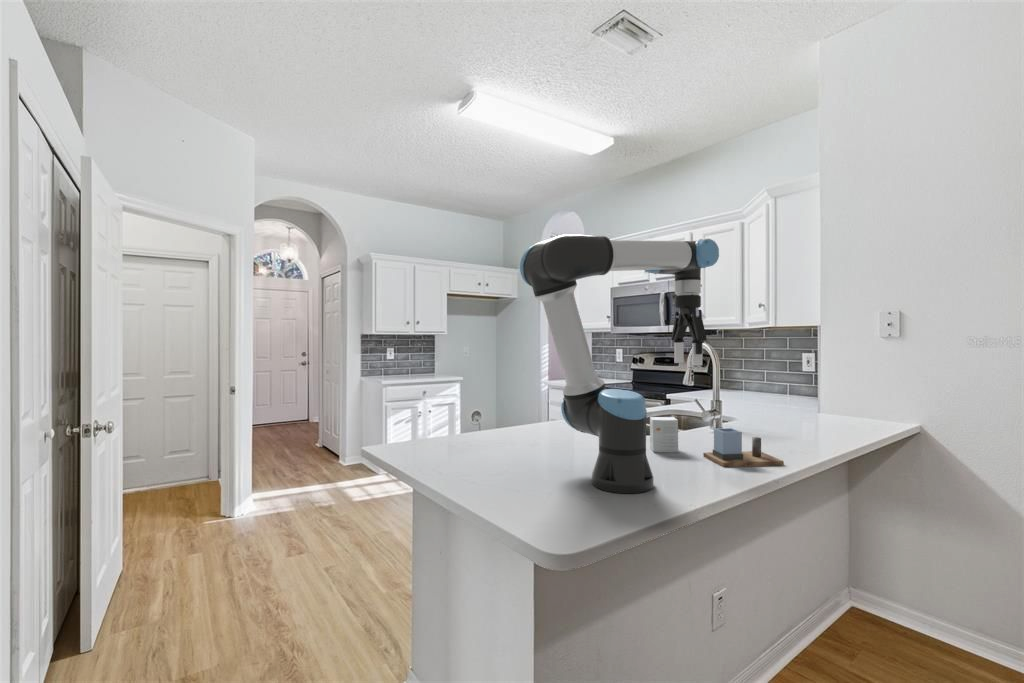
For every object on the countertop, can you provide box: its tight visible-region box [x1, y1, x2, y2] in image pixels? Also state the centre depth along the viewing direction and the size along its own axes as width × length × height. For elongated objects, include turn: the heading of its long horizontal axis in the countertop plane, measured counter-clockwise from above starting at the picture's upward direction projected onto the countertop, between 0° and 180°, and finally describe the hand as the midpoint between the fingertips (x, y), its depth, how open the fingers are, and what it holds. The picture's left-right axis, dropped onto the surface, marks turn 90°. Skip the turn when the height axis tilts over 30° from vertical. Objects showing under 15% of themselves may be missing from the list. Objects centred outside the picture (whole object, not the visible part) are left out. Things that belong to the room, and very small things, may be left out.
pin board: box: [702, 436, 785, 468], centre depth 146 cm, size 18×12×7 cm, turn 94°
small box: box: [649, 416, 679, 453], centre depth 160 cm, size 8×6×10 cm
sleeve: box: [712, 427, 743, 460], centre depth 146 cm, size 6×6×8 cm
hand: (687, 364), depth 152 cm, fingers open, 13 cm apart
